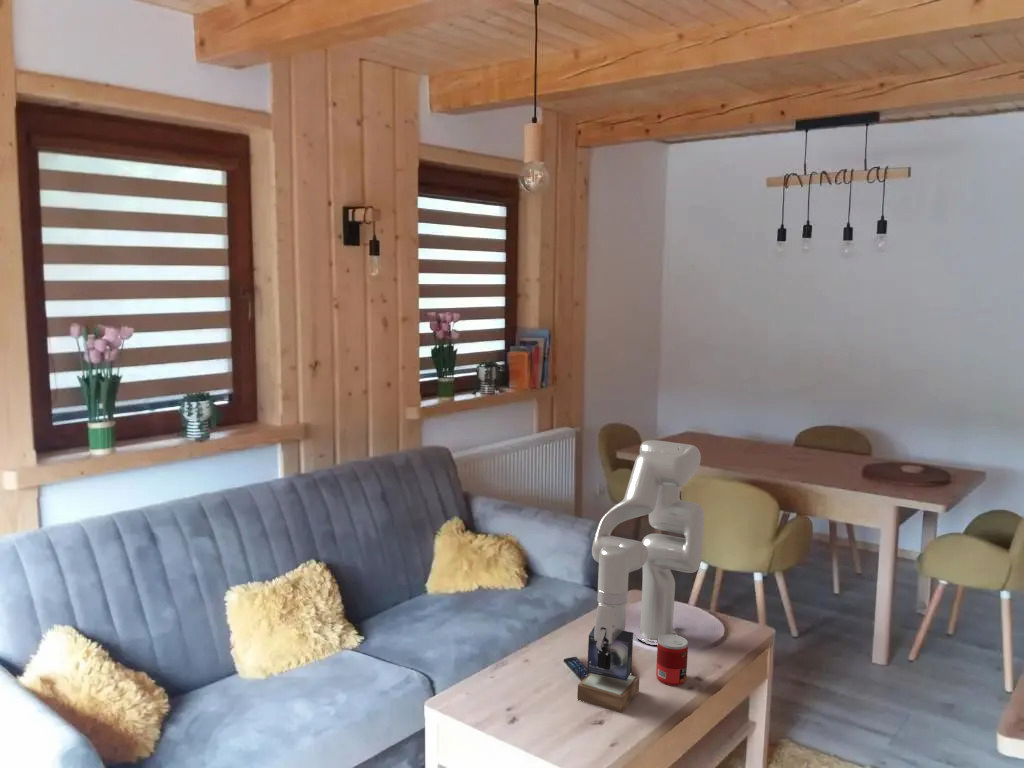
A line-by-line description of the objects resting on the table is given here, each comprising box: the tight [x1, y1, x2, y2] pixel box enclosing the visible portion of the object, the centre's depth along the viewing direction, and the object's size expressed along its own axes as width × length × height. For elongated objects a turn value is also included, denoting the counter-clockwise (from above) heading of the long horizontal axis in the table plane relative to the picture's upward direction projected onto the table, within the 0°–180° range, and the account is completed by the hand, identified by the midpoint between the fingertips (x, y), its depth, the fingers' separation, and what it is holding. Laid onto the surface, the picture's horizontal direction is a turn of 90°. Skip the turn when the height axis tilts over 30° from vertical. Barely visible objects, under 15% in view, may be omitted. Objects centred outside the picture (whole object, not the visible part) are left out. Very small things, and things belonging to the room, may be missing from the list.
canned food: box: [655, 634, 689, 687], centre depth 225 cm, size 8×8×11 cm
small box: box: [586, 625, 635, 681], centre depth 215 cm, size 11×6×10 cm, turn 70°
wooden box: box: [576, 673, 640, 714], centre depth 216 cm, size 12×12×4 cm
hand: (609, 661), depth 215 cm, fingers closed on small box, 6 cm apart
